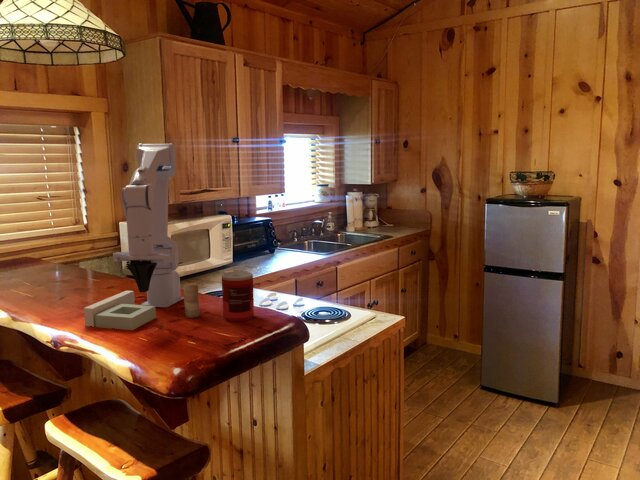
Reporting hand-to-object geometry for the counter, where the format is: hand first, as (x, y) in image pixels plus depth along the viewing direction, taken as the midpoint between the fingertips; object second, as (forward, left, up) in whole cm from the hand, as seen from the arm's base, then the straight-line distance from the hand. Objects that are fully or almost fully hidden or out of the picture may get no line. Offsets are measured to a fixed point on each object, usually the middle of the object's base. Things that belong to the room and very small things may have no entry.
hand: (144, 291), depth 130 cm
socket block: (0, -5, -8) cm, 10 cm away
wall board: (-3, -12, -8) cm, 15 cm away
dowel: (-8, +8, -8) cm, 14 cm away
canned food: (-10, +20, -8) cm, 24 cm away
